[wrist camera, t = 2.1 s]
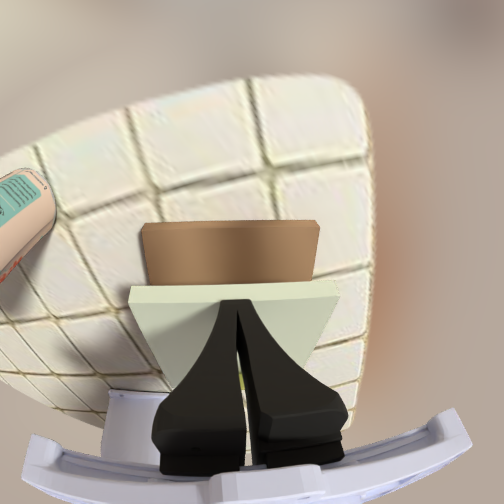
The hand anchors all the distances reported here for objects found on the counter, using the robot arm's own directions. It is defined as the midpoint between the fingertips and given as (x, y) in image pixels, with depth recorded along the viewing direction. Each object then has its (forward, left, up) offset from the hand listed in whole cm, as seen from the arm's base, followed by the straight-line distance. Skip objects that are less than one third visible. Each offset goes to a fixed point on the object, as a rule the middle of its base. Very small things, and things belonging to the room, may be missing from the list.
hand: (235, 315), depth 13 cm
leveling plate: (0, -5, -3) cm, 6 cm away
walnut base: (0, -5, -5) cm, 7 cm away
